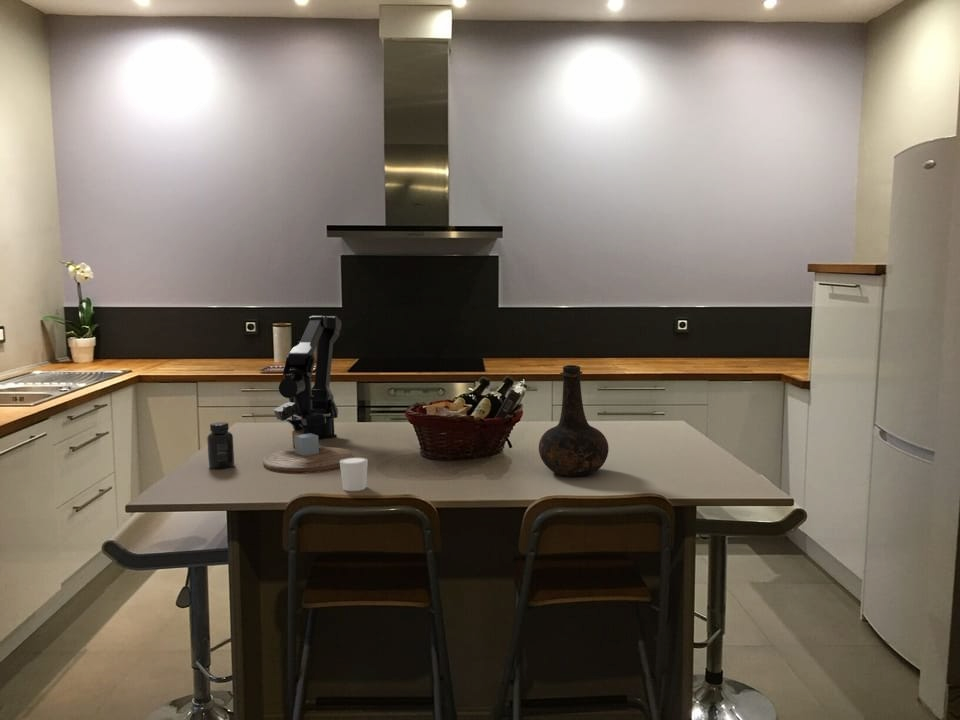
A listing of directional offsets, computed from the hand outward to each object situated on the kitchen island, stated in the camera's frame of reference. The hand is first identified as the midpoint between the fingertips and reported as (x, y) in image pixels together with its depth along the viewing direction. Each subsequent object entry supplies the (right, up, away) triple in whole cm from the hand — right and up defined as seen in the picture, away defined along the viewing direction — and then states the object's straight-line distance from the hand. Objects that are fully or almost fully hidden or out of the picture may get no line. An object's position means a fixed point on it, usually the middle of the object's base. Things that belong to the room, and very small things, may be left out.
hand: (304, 444), depth 255 cm
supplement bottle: (-18, -4, -22) cm, 29 cm away
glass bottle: (+77, -4, -35) cm, 85 cm away
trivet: (+5, -4, -18) cm, 19 cm away
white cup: (+22, -6, -47) cm, 52 cm away
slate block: (+4, -1, -13) cm, 14 cm away
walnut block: (0, -1, 0) cm, 1 cm away
